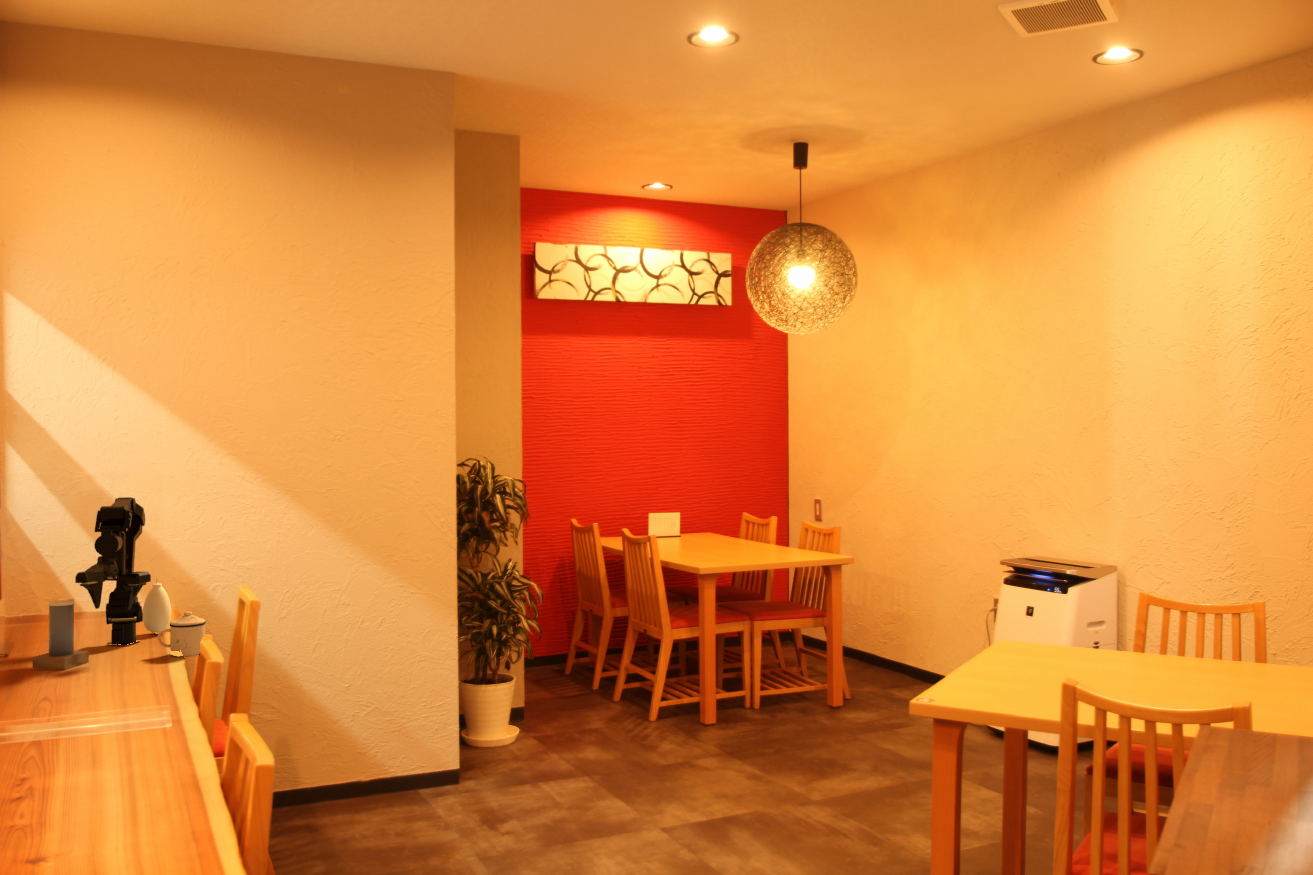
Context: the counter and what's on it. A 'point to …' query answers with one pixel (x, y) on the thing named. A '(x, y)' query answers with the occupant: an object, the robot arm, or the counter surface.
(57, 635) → the canister
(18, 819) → the counter surface
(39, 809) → the counter surface
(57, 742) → the counter surface
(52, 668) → the stand
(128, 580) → the robot arm
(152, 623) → the sauce bottle
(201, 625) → the teacup with lid
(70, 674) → the counter surface
